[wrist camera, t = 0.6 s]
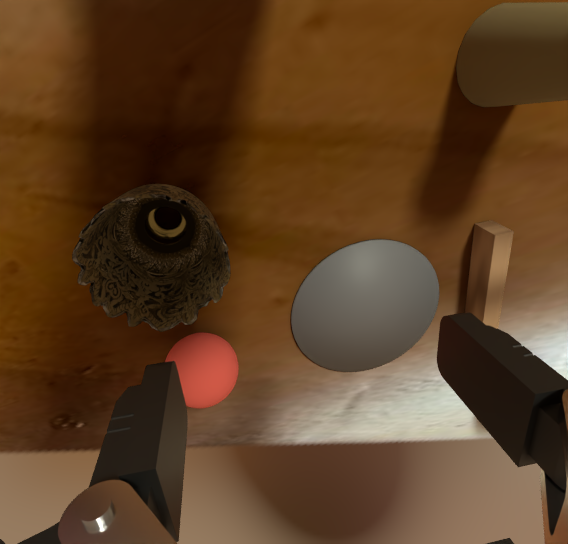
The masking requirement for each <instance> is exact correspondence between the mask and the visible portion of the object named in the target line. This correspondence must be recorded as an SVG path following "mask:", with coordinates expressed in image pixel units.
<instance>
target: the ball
mask: <svg viewBox="0 0 568 544" xmlns="http://www.w3.org/2000/svg"><path fill="white" fill-rule="evenodd" d="M169 361H175V363H176V366H177V370H178V374H179V378H180V382H181V386H182V390H183V394H184V398H185V403H186V406H188V407H192V408H206V407H210V406H213V405H215V404H217V403H219V402H221V401H222V400H223V399H225V398H226V397H227V396H228V395H229V393H230V392H231V391H232V389H233V388H234V386H235V383H236V381H237V377H238V360H237V356H236V354H235V352H234V350H233V348H232V347H231V346H230V344H229V343H228V342H227V341H226V340H224V339H223V338H221V337H219V336H218V335H215V334H211V333H203V332H201V333H194V334H191V335H188V336H186V337H184V338H182V339H181V340H180V341H178V342H177V343H176V344H175V345H174V346H173V347H172V349H171V350H170V351H169V353H168V355H167V357H166V360H165V362H169Z"/></svg>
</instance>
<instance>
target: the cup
mask: <svg viewBox="0 0 568 544" xmlns="http://www.w3.org/2000/svg"><path fill="white" fill-rule="evenodd" d="M161 207H170V208H173V209H175V210H177V211H178V212H179V214H180V223H179V225H178V226H177V227H175V228H173V229H164V228H162V227H161V226H159V225H158V223H157V222H156V219H155V215H156V212H157V211H158V209H160V208H161ZM79 237H80V240H79V242H78V244H77V245H76V247H75V249H74V251H73V255H72V258H73V261H74V262H75V263H76V264H78V265H79V266H80V267H81V272H80V273H79V277H78V283H79V284H80V285H86V284H88V283H91V286H90V293H91V296H92V302H93V304H94V305H95V306H100V305H101V306H102V305H103V309H104V311H105V312H106V315H107V316H108V317H117V316H120V315H122V314H123V313H127V317H128V325H129V326H131V327H134V326H137V325H138V324H140V323H141V322H143V321H144V322H147V323H148V324H149V325H150V326H151V327H152V328H153V329H155V330H158V331H160V332H162V331H166V330H169V329H171V328H172V327H174V326H176V325H177V324H178V323H180V322H183V323H184V324H185V325H191V324H192V323H194V322H195V321H196V319H197V314H198V310H199V309H200V308H202V307H203V306H207V304H208V303H209V301H210V300H211V299H213V301H214V302H215V303H217V302H218V301H219V300H220V299H221V297H222V294H223V287H224V286H225V285H227V283H228V281H229V278H230V262H229V257H228V252H227V250H228V247H227V244H226V242H225V240H224V239H223V236H222V234H221V232H220V229H219V227H218V225H217V223H216V221H215V219H214V217H213V215H212V214H211V212H210V211H209V209H208V208H207V207H206V206H205V205H204V203H203V202H202V201H201V200H199V199H198V198H197V197H196V196H194V195H193V194H191V193H190V192H188V191H186V190H184V189H182V188H179V187H176V186H172V185H167V184H149V185H144V186H140V187H137V188H134V189H132V190H130V191H128V192H126V193H124V194H123V195H121V196H119V197H118V198H116V199H115V200H113V201H112V202H110V203H108V204H107V205H105V206H104V207H103V209H101V210H100V211H99V212H98V213H97V214H96V215H95V216H94V217H93V219H92V220H91V221H90V222H89V223H88V224H87V225H86V226H85V227H84V229H83V230H82V231H81V232H80V234H79Z"/></svg>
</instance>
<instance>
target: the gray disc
mask: <svg viewBox="0 0 568 544" xmlns="http://www.w3.org/2000/svg"><path fill="white" fill-rule="evenodd" d="M438 300H439V284H438V279H437V276H436V273H435V271H434V268H433V267H432V265H431V264H430V262H429V261H428V260H427V259H426V257H425V256H424V255H422V254H421V253H420V252H419V251H418V250H416V249H414V248H413V247H411V246H409V245H407V244H404V243H402V242H398V241H393V240H385V239H375V240H367V241H361V242H357V243H354V244H351V245H348V246H346V247H344V248H341V249H339V250H337V251H336V252H334V253H332V254H331V255H329V256H328V257H326V258H325V259H324V260H322V261H321V262H320V263H319V264H318V265H317V266H316V267H314V268H313V269H312V271H311V272H310V273H309V274H308V275H307V277H306V278H305V279H304V281H303V282H302V284H301V286H300V287H299V290H298V292H297V294H296V296H295V299H294V302H293V306H292V312H291V325H292V331H293V334H294V338H295V340H296V342H297V344H298V346H299V348H300V349H301V350H302V352H303V353H304V354H305V355H306V356H307V357H308V358H309V359H311V360H312V361H313V362H315V363H316V364H318V365H320V366H322V367H325V368H328V369H331V370H335V371H342V372H357V371H364V370H369V369H373V368H376V367H379V366H382V365H384V364H387V363H389V362H391V361H393V360H394V359H396V358H398V357H399V356H401V355H402V354H404V353H405V352H406V351H408V350H409V349H410V348H411V347H412V346H413V345H414V344H415V343H416V342H417V341H418V340H419V339H420V338H421V337H422V336H423V334H424V333H425V332H426V330H427V329H428V327H429V325H430V324H431V322H432V320H433V318H434V315H435V312H436V309H437V305H438Z"/></svg>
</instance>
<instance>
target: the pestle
mask: <svg viewBox="0 0 568 544" xmlns="http://www.w3.org/2000/svg"><path fill="white" fill-rule="evenodd" d="M456 71H457V80H458V84H459V86H460V89H461V91H462V93H463V95H464V96H465V97H466V98H467V99H468V100H469V101H470V102H471V103H473V104H475V105H478V106H481V107H497V106H508V105H519V104H530V103H541V102H551V101H562V100H568V2H567V3H502V4H500V5H497V6H495V7H492V8H490V9H488V10H487V11H486V12H485V13H483V14H482V15H481V16H480V17H479V18H477V19H476V20H475V22H474V23H473V24H472V26H471V27H470V29H469V30H468V31H467V33H466V34H465V37H464V39H463V41H462V44H461V46H460V49H459V52H458V59H457V65H456Z"/></svg>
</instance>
